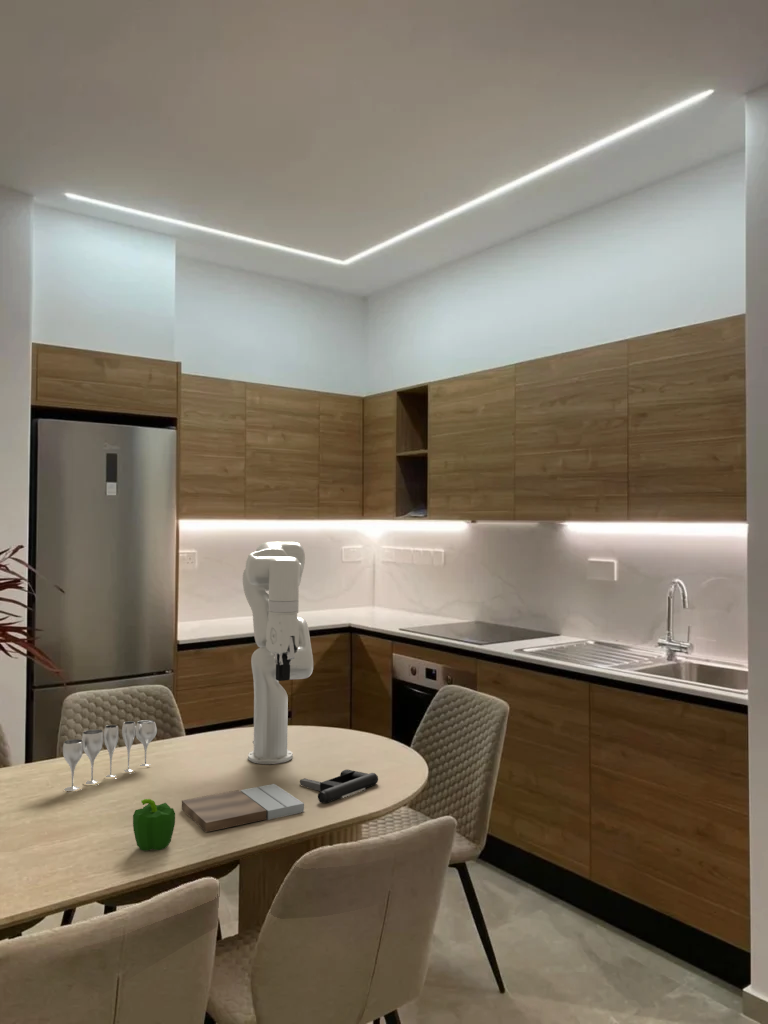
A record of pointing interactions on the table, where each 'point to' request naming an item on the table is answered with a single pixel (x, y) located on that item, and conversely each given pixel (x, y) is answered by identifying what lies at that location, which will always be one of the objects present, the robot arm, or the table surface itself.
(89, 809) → the table surface
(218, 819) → the plank
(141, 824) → the bell pepper
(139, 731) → the goblet set
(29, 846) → the table surface
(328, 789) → the door handle
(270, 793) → the laid boards
